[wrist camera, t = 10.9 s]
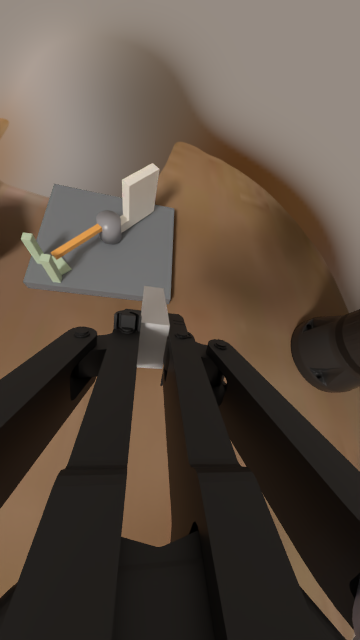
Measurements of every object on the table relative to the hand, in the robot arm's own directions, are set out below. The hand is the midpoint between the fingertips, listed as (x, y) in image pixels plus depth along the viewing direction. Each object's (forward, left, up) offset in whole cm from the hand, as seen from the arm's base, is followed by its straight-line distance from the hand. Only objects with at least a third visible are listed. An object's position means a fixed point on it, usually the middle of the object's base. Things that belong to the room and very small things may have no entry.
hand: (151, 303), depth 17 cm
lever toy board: (+7, -21, -21) cm, 31 cm away
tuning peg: (+7, -22, -19) cm, 30 cm away
